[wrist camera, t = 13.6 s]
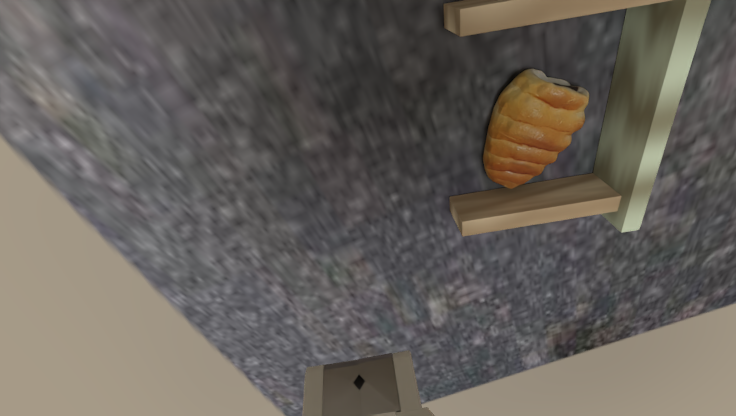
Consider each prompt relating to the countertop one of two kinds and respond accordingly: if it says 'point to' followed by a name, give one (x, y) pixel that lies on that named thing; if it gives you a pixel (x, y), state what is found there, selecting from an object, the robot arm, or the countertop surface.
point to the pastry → (531, 126)
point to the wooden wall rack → (622, 117)
